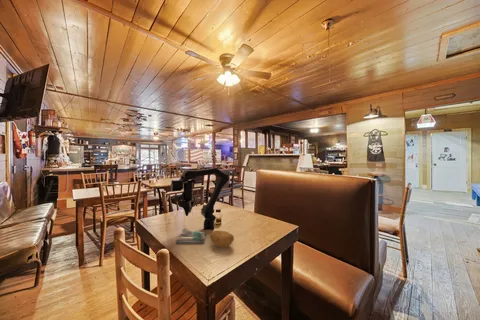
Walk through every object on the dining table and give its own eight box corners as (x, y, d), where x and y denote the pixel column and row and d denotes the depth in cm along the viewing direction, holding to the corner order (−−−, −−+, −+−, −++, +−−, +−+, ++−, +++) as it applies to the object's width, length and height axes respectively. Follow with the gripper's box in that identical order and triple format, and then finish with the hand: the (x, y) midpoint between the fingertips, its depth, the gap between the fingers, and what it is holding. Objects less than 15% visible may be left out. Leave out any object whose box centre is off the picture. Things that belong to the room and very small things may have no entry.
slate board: (207, 235, 115) (207, 231, 115) (204, 244, 104) (204, 240, 104) (181, 235, 114) (181, 231, 114) (175, 244, 103) (175, 240, 103)
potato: (216, 239, 109) (216, 226, 109) (236, 245, 103) (237, 231, 102) (205, 247, 101) (205, 232, 100) (227, 253, 94) (227, 238, 94)
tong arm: (205, 236, 108) (205, 231, 108) (203, 237, 106) (203, 233, 106) (184, 231, 114) (184, 227, 114) (181, 232, 112) (181, 228, 112)
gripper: (179, 187, 127) (179, 209, 127) (170, 193, 108) (170, 219, 109) (196, 187, 127) (196, 209, 128) (189, 193, 108) (189, 219, 109)
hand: (188, 214), depth 118 cm, fingers open, 6 cm apart
